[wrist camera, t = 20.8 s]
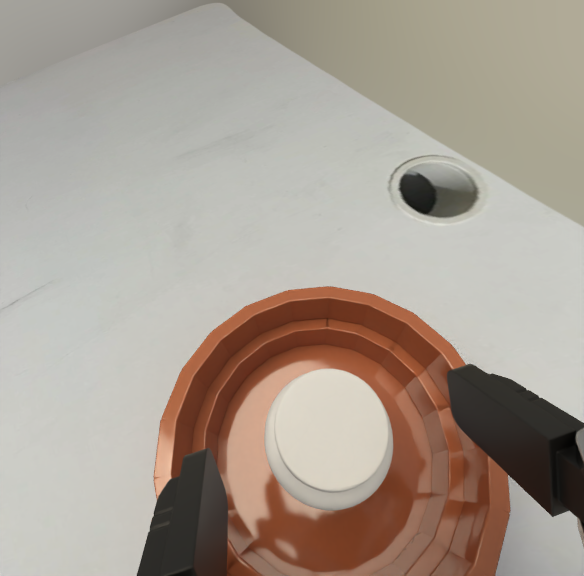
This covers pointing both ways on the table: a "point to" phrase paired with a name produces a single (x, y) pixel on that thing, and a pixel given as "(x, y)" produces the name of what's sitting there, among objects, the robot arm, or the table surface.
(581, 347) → the table surface
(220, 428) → the bowl
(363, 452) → the pill bottle
